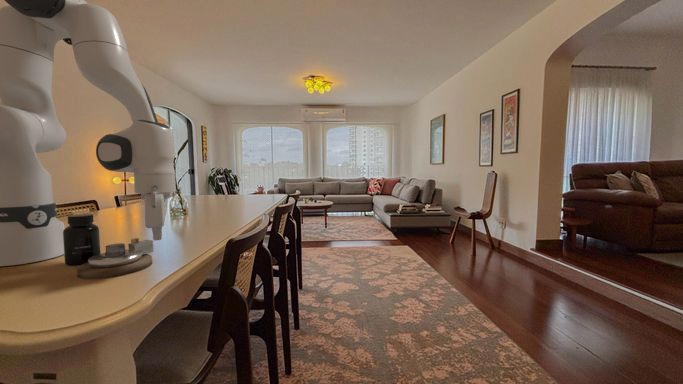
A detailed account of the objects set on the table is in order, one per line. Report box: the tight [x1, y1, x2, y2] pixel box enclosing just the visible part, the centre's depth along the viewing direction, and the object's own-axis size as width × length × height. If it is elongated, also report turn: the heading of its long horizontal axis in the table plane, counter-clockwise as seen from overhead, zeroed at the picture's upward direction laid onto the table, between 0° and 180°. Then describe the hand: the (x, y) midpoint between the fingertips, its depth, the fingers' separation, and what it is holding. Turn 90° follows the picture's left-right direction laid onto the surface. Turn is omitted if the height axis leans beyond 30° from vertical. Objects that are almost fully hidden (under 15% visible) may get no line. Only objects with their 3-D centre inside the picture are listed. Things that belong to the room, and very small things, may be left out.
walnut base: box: [76, 237, 153, 280], centre depth 69 cm, size 14×14×6 cm
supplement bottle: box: [63, 213, 101, 267], centre depth 73 cm, size 7×7×12 cm
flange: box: [88, 239, 154, 267], centre depth 70 cm, size 13×10×4 cm
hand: (157, 239), depth 75 cm, fingers closed
